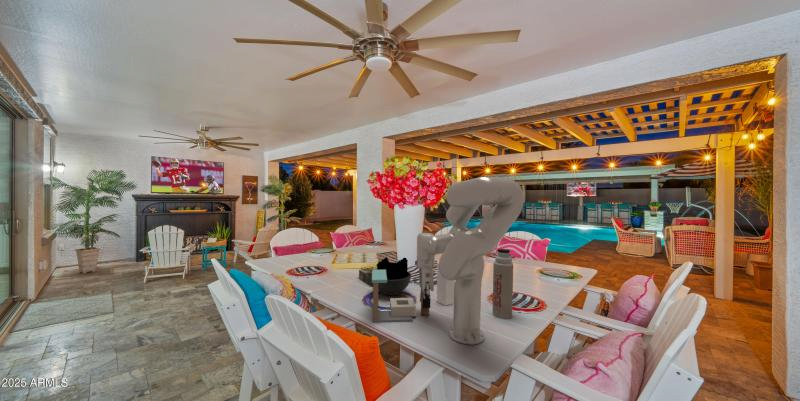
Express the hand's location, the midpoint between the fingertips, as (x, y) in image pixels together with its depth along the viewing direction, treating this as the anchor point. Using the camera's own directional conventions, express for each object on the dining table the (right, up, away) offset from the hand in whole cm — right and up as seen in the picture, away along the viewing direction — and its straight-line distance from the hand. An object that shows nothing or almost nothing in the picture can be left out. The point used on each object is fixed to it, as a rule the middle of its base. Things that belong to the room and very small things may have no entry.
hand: (425, 304), depth 124 cm
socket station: (-14, -4, +1) cm, 14 cm away
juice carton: (-27, -3, +46) cm, 53 cm away
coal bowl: (-15, -4, +25) cm, 29 cm away
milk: (+11, -4, +14) cm, 18 cm away
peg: (0, -4, 0) cm, 4 cm away
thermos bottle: (+33, -5, +1) cm, 33 cm away
